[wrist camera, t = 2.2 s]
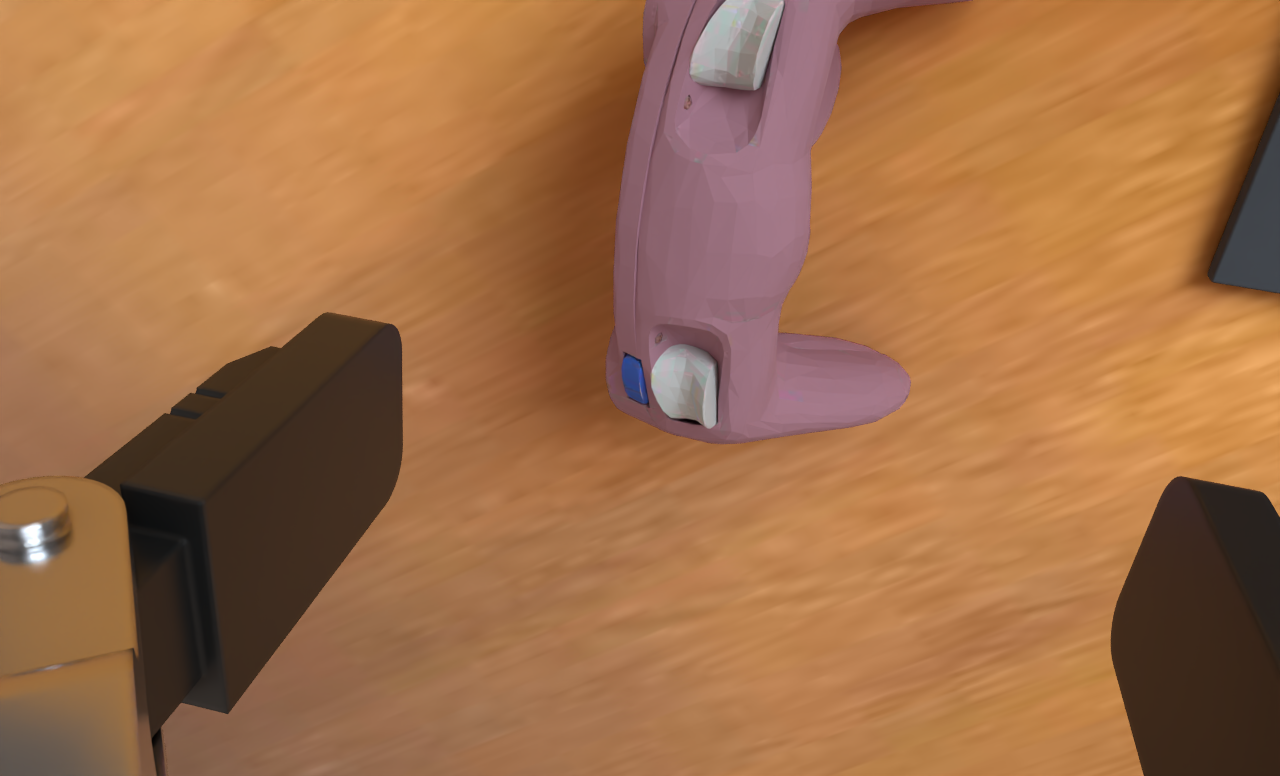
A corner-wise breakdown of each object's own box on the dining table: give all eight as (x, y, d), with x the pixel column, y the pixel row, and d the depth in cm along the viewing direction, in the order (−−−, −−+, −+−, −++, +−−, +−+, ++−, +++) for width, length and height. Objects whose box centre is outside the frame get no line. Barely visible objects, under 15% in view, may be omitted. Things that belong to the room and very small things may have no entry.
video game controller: (820, -120, 20) (579, -128, 15) (1054, -84, 18) (861, -82, 13) (743, 340, 25) (541, 449, 20) (919, 414, 22) (741, 559, 18)
